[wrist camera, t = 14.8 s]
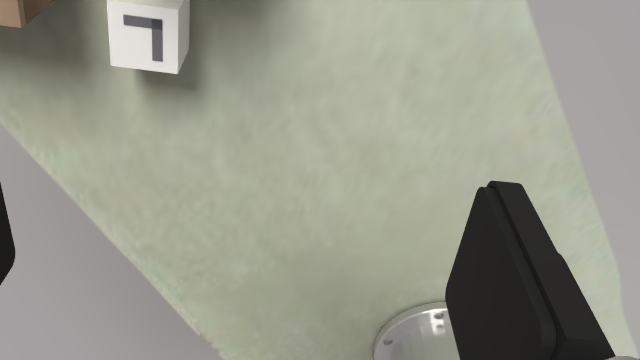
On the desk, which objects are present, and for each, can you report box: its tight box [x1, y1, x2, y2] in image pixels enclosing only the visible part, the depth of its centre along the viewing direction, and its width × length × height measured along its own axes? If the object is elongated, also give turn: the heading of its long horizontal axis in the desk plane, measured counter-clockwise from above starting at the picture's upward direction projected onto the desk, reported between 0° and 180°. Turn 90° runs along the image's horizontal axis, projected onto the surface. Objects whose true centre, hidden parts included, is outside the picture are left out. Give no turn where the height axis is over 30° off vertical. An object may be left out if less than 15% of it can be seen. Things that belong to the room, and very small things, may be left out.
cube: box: [107, 0, 190, 74], centre depth 36 cm, size 4×4×4 cm
